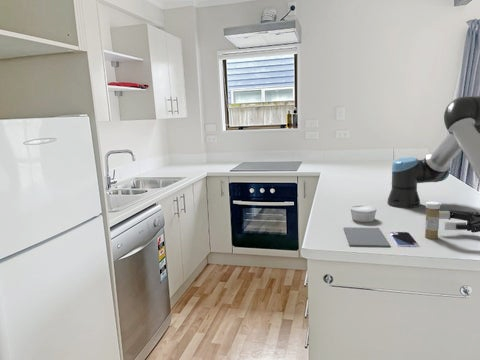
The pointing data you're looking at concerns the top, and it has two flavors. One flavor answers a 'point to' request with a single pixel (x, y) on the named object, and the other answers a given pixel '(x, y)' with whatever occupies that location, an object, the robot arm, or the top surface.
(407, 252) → the top surface
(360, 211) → the ramekin
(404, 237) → the mobile phone
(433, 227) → the sprinkles bottle
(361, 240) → the charcoal mat
